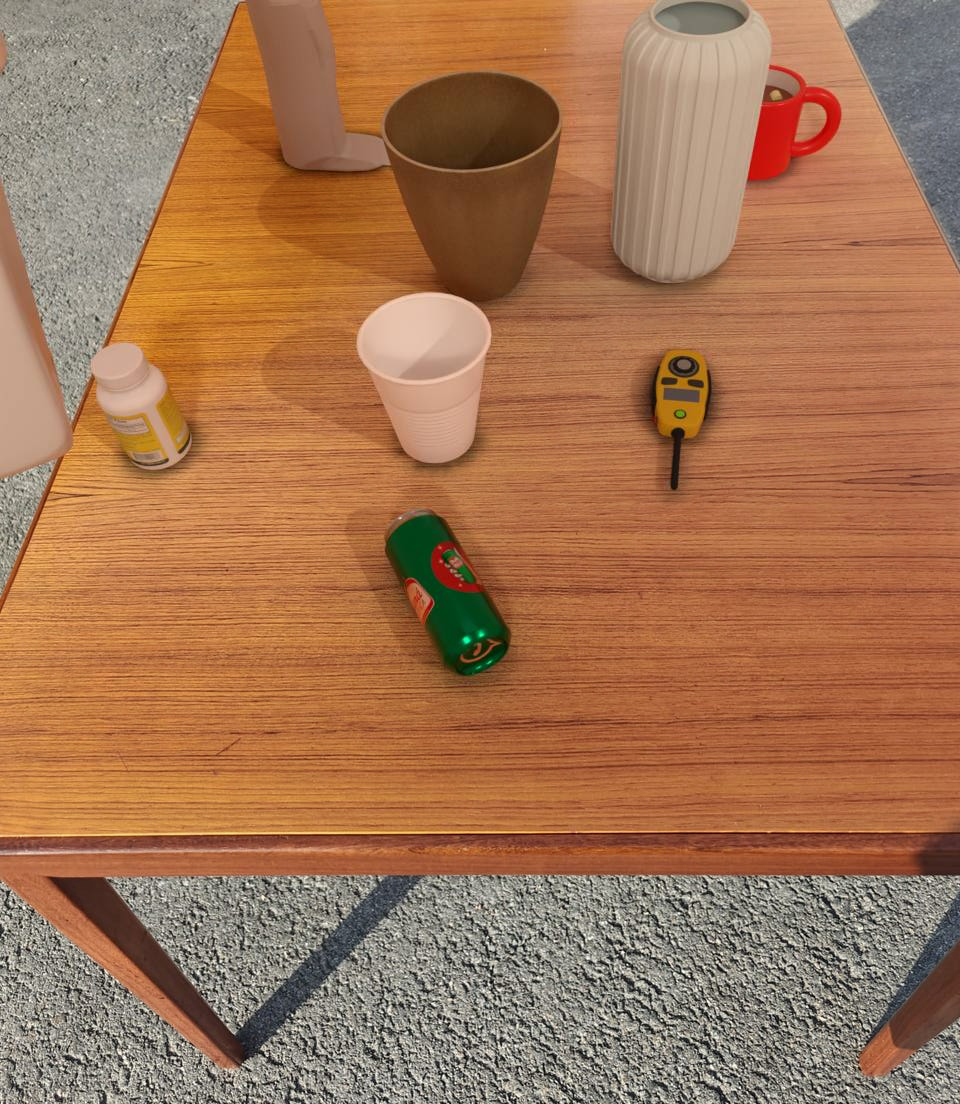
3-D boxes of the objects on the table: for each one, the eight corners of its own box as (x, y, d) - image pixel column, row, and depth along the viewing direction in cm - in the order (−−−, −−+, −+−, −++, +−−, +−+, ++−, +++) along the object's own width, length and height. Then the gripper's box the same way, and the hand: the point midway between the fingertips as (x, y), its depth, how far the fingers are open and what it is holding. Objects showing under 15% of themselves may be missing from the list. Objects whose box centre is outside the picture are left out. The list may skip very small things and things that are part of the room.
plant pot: (379, 261, 91) (352, 102, 78) (513, 213, 94) (508, 52, 81) (445, 351, 82) (428, 189, 70) (589, 295, 86) (598, 131, 73)
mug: (835, 179, 94) (857, 103, 88) (715, 180, 95) (728, 105, 89) (824, 136, 99) (843, 62, 93) (710, 138, 100) (721, 64, 94)
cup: (516, 460, 74) (512, 357, 66) (400, 500, 73) (380, 400, 64) (471, 382, 80) (462, 277, 71) (362, 417, 78) (339, 314, 69)
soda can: (452, 690, 63) (386, 562, 70) (518, 657, 64) (447, 534, 70) (441, 655, 59) (372, 523, 65) (512, 621, 60) (437, 493, 66)
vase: (740, 293, 85) (792, 44, 67) (614, 299, 85) (632, 53, 67) (720, 218, 92) (763, -27, 74) (603, 224, 92) (618, -18, 74)
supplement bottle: (173, 414, 80) (133, 325, 72) (205, 449, 77) (166, 360, 69) (117, 446, 78) (68, 358, 70) (147, 483, 75) (100, 396, 67)
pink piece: (399, 174, 99) (371, -31, 83) (275, 169, 101) (224, -32, 85) (412, 137, 103) (388, -65, 87) (293, 133, 105) (248, -65, 89)
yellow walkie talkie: (714, 348, 78) (708, 482, 70) (711, 365, 80) (704, 499, 71) (656, 343, 79) (643, 476, 70) (654, 360, 80) (641, 493, 72)
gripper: (-292, -78, 31) (-68, 269, 42) (-325, 261, 19) (-7, 612, 31) (-95, -121, 32) (71, 227, 43) (-19, 174, 21) (179, 541, 32)
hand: (39, 390), depth 37 cm, fingers closed
